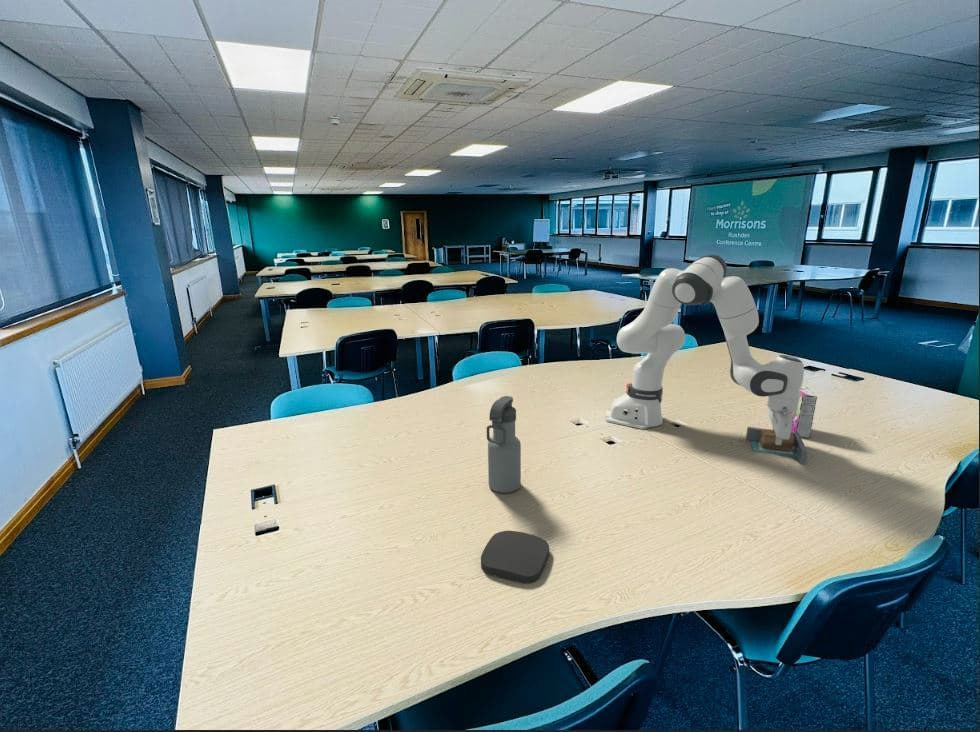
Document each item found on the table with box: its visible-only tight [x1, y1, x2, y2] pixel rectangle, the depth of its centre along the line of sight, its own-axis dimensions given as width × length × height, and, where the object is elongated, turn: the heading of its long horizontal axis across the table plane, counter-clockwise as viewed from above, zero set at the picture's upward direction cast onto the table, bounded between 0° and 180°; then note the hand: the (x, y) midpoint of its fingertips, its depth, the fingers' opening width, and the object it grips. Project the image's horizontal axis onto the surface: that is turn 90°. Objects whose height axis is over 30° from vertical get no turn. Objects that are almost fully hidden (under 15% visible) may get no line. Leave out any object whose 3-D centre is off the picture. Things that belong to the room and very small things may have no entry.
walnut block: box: [758, 428, 794, 451], centre depth 167 cm, size 4×9×5 cm, turn 74°
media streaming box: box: [480, 530, 550, 584], centre depth 116 cm, size 15×15×3 cm
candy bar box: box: [791, 385, 818, 439], centre depth 179 cm, size 11×5×16 cm, turn 168°
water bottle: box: [486, 395, 522, 494], centre depth 144 cm, size 10×10×28 cm
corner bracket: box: [745, 426, 808, 465], centre depth 167 cm, size 16×15×4 cm
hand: (776, 440), depth 167 cm, fingers closed on walnut block, 4 cm apart
